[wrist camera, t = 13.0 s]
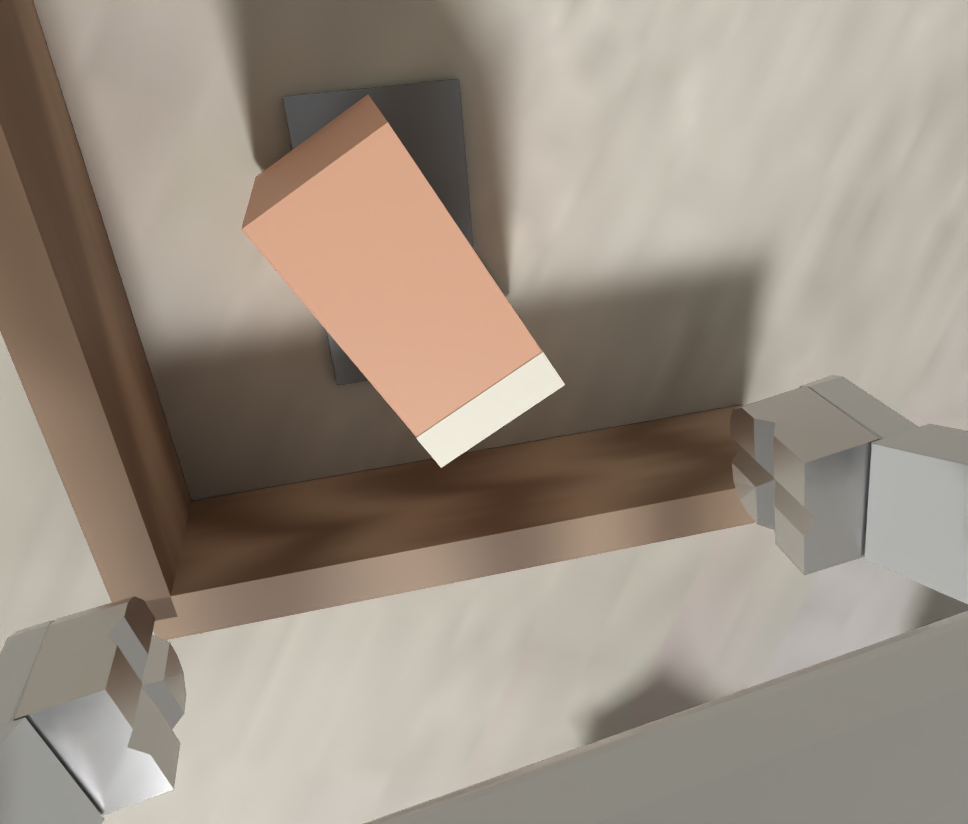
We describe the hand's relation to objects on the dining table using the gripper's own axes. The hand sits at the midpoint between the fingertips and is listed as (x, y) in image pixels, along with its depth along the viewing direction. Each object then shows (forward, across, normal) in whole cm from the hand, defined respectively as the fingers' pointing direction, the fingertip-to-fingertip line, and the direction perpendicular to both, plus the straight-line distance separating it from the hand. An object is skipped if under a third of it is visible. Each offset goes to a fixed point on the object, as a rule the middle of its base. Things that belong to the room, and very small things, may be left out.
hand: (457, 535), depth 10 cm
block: (+15, -1, +1) cm, 15 cm away
